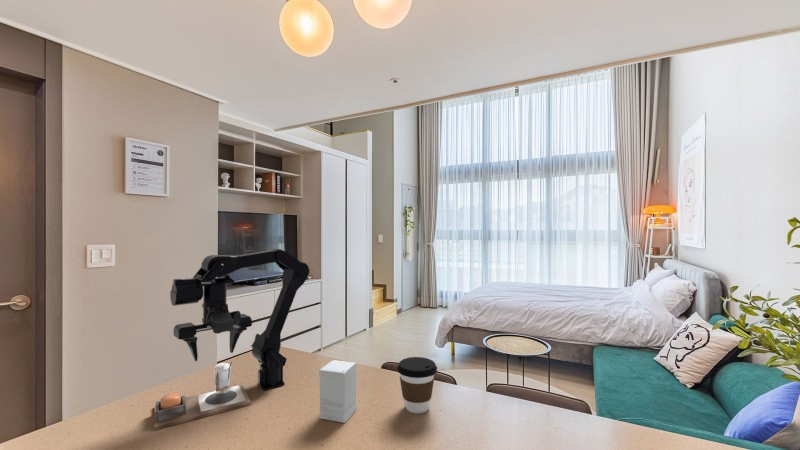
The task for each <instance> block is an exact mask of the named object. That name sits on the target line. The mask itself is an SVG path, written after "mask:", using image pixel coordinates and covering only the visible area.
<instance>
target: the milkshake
mask: <svg viewBox="0 0 800 450" xmlns="http://www.w3.org/2000/svg"><path fill="white" fill-rule="evenodd" d="M232 365H233V361H231V362H230V363H227V362H221V363H218V364H216V365H214V367H213V368H212V371H213V372H212V373H213V382H214V391H215V397H216V399H224V398H226V397H227V396H228V395H229V387H230V382H231V381H230V379H231V372H232V371H231V370H232Z"/></svg>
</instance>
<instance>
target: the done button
mask: <svg viewBox="0 0 800 450" xmlns="http://www.w3.org/2000/svg"><path fill="white" fill-rule="evenodd" d="M181 396H182V394H181V393H179V392H178V393H177V392H174V393H168V394H165V395H164V396H162V397H161V398H160V401H161V410H163V409H168V408H172V407H176V406H180V405H181Z"/></svg>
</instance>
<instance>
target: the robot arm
mask: <svg viewBox="0 0 800 450" xmlns="http://www.w3.org/2000/svg"><path fill="white" fill-rule="evenodd" d="M272 263H275V264H276V266H278V268H280V269H281V270H282V271H283V272H282V275H281V276H282V279H281V281H282V287H281V289H280V292H279V294H278V297H277V299H276V302H275V305H274V308H273V310H272V313H271V315H270V317H269V320H268V322H267V325H266V327H265V330H264V331H263V332H261V333H260V334H259V333H256V334H255V337H254V341H253V343H252V344H251V345H250V347H252V348H251V354H252V356H253V358H255V359H256V360H257V362H258V363H259V369H258V371H257V381H258V382H257V384H258V386H259V387H261V389H262V390H263V391H264V390H265V391H266V390H269V389H274V388H276V387H280V386H281V387H283V386H285V381H284V366H285V365H286V363H287V361H288V359H287V358H286V357H285V356H284V355H282V354H281V353H280V350H281V345H282V344H281V343H282V340H281V337H282V336H281V334H282V331H283V328H284V326H285V323H286V320H287V317H288V316H289V313H290V310H291V307H292V305H293V303H294V300H295V297H296V295H297V292H298V290H299V289H300V288H301V287H302V286H303V285H304V284H305V282H306V280H307V279H308V277H309V275H310V267H309V265H308V264H307V263H306V262H302V261H300V260H299V259H297V258H295V257H294V256H292V255H290V254H289V253H288V252H287V251H285V250H284V249H282V248H273V249H270V250H263V251H258V252H257V251H255V252H251V253H250V252H249V253H243V254H238V255H233V254H231V255H229V254H228V255H227V254H223V255H222V254H210V255H207V256H206V257H204V259H203V260H202V262H201V264H200V265H201V266H200V268H199V269H198V270H197V271H196V273H195V274H194V276H192V278H183V279H182V278H174V279H173V280H172V285H171V290H170V294H169V295H170V302H171V303H170V304H171V305H172V306H173V307H176V306H182V305H190V304H197V303H199V302H200V301H201V300H202V299H203V301H202V302H203V303H202V304H201V308H202V312H203V313H202V318H201V323H202V324H193V323H192V322H183V323H180V324H179V323H177V324H176V325H174V327H173V336H174V337H176V339H177V340H182V341H183V342H186V344H187V345H188V348H189V350H190V352H191V355H192V357H193V360H194V361H195V362H198V344H197V342H198V336H197V333H201V332H206V331H210V330H212V332H213V333H214V334H217V335H218V334H221V333H224V332H229V352H230V353H231V354H233V353H234V351H235V348H236V345H237V343H238V340H239V338H240V336H241V334H242V333H243V332H244V331H246V330H248V328H249V327H252V326H253V319H252V317H251V316H249V315H247V314H245V313H241V311H240V310H235V311H229V305H228V303H227V287H228V286H227V285H228V284H234V283H235V280H234V279H233V278H231V276H230V275H229V274H233V273H234V272H236V271H239V270H241V269H245V268H250V267H256V266H261V265H266V264H267V265H268V264H272Z"/></svg>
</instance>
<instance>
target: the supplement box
mask: <svg viewBox="0 0 800 450" xmlns="http://www.w3.org/2000/svg"><path fill="white" fill-rule="evenodd" d="M318 371H319V418H320V420H321V419H322V420H327V421H331V422H337V423H338V422H339V423H343V424H345V423H346V422H348V420H349V419H350V417H351V416H353V414H354V413H355V412H356V411H357V408H358V407H357V404H358V403H357V402H358V401H357V362H353V361H352V362H351V361H342V360H335V359H332V360H331V361H330V362H328V363H327V364H326V365H324V366H323V367H321V368H320V369H319V370H318Z"/></svg>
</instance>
